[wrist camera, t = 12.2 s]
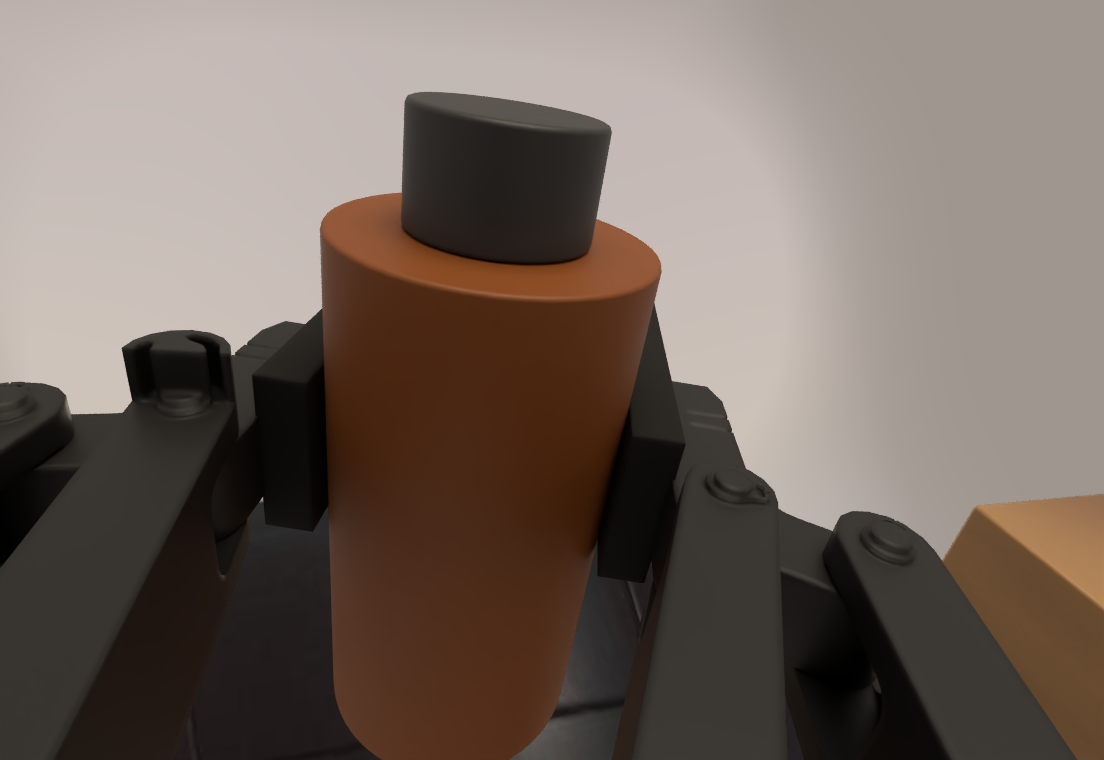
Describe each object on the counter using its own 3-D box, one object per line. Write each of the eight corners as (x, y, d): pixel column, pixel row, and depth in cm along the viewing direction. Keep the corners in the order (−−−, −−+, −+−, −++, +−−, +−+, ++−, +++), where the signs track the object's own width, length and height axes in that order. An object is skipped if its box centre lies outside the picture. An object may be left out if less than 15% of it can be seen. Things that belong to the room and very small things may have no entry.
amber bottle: (578, 606, 15) (692, 125, 10) (534, 812, 11) (691, 169, 6) (394, 557, 15) (411, 76, 10) (284, 735, 11) (224, 82, 6)
